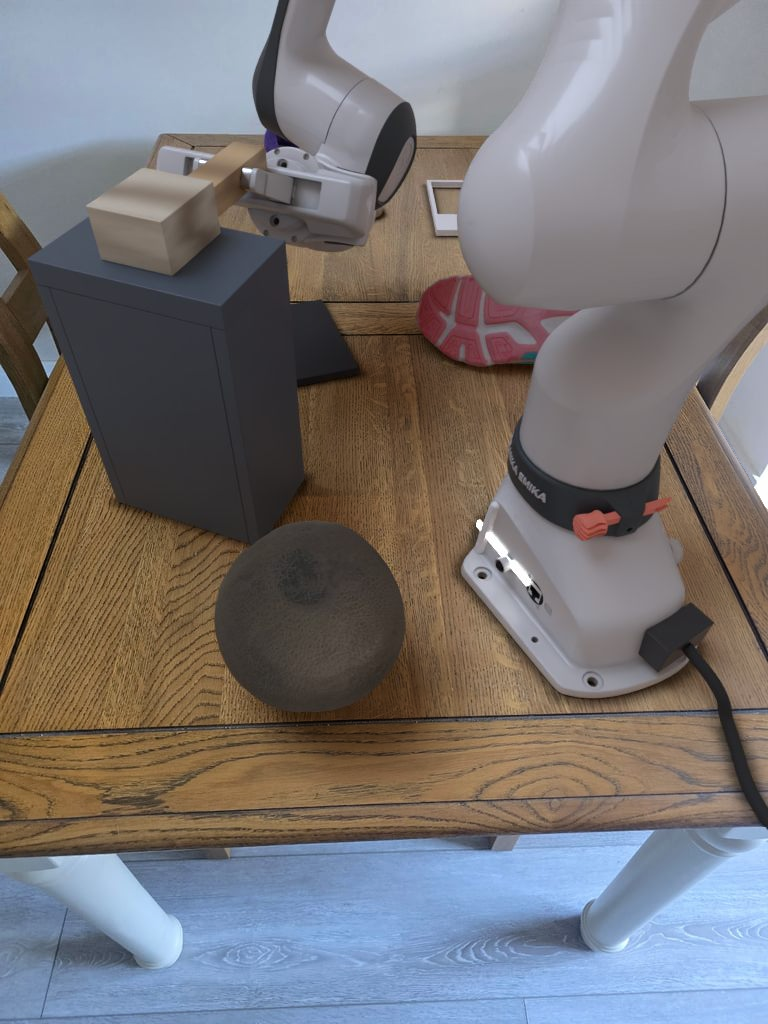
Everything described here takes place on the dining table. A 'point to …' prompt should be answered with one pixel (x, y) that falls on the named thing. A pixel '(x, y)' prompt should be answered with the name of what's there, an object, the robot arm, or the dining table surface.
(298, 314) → the shoe mat
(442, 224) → the photo frame
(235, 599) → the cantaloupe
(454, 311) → the athletic shoe
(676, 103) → the robot arm
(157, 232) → the wooden mallet
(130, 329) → the tall grey cabinet
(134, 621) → the dining table surface
